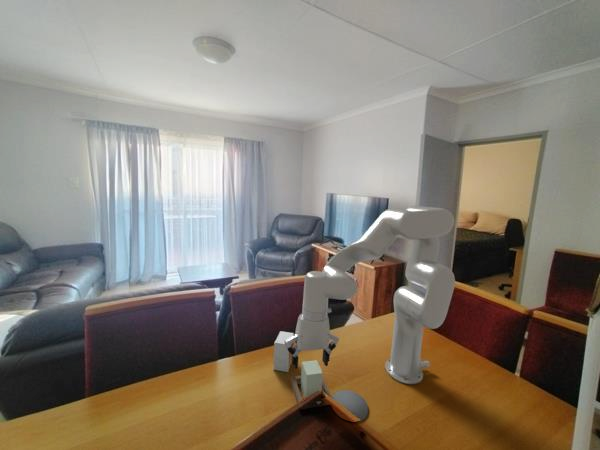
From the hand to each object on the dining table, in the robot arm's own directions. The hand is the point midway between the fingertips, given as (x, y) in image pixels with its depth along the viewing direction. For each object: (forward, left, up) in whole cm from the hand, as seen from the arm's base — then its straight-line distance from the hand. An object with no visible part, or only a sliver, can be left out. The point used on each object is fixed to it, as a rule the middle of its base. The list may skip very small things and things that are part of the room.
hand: (310, 364), depth 80 cm
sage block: (-1, 0, -10) cm, 10 cm away
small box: (+5, -15, -10) cm, 19 cm away
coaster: (-11, +7, -10) cm, 16 cm away
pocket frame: (-1, 0, -10) cm, 10 cm away
